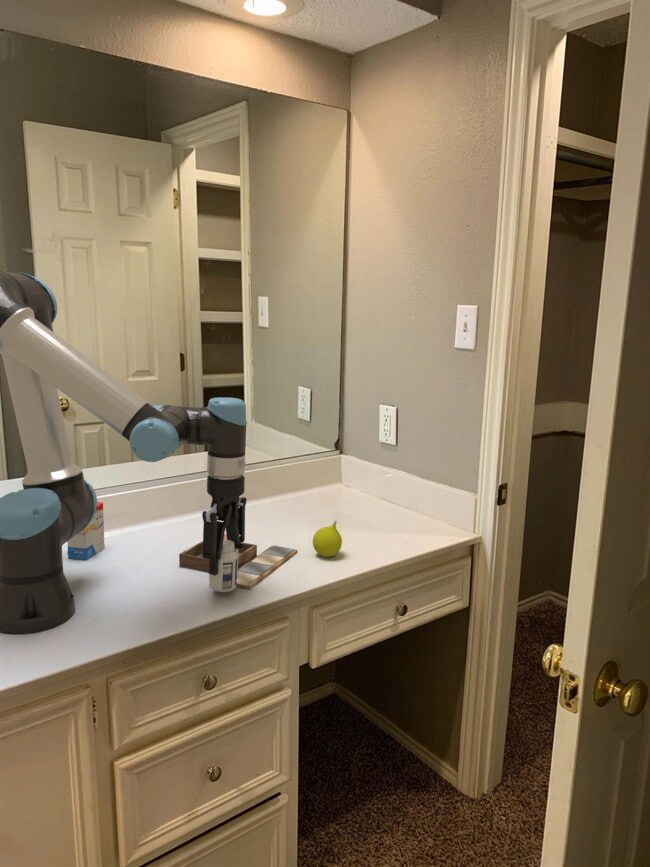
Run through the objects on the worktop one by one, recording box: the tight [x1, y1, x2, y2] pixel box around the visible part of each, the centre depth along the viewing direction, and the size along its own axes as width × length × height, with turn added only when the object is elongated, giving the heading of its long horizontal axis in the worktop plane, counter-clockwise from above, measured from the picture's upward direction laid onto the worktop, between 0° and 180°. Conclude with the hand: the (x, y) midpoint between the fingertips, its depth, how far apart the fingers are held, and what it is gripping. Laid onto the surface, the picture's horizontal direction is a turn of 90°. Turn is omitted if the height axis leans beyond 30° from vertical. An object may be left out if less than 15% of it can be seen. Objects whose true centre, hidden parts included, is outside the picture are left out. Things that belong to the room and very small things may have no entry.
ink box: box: [66, 501, 106, 561], centre depth 155 cm, size 8×5×15 cm, turn 168°
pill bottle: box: [211, 540, 237, 593], centre depth 136 cm, size 5×5×10 cm
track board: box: [236, 545, 298, 590], centre depth 151 cm, size 24×7×1 cm, turn 157°
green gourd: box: [312, 520, 343, 558], centre depth 158 cm, size 7×7×10 cm
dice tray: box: [178, 540, 258, 573], centre depth 153 cm, size 13×13×3 cm
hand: (223, 582), depth 136 cm, fingers closed on pill bottle, 5 cm apart
